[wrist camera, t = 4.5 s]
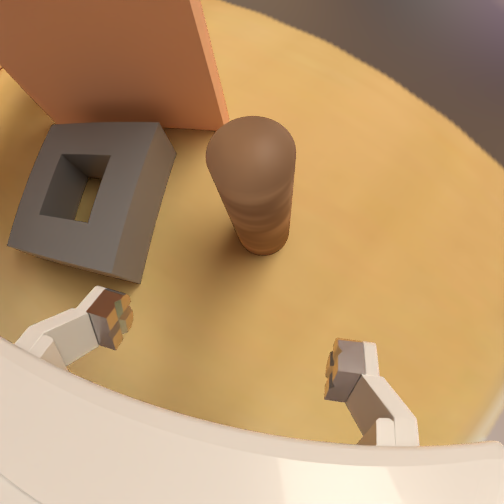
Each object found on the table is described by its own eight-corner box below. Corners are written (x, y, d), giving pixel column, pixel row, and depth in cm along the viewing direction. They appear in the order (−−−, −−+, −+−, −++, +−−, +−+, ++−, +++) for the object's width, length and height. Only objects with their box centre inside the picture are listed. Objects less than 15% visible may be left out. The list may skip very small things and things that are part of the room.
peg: (248, 262, 25) (221, 205, 13) (231, 217, 26) (195, 133, 14) (296, 244, 25) (310, 173, 13) (277, 199, 26) (275, 106, 14)
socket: (140, 283, 25) (111, 273, 20) (40, 258, 27) (7, 245, 22) (176, 153, 28) (158, 122, 23) (76, 148, 29) (51, 124, 24)
